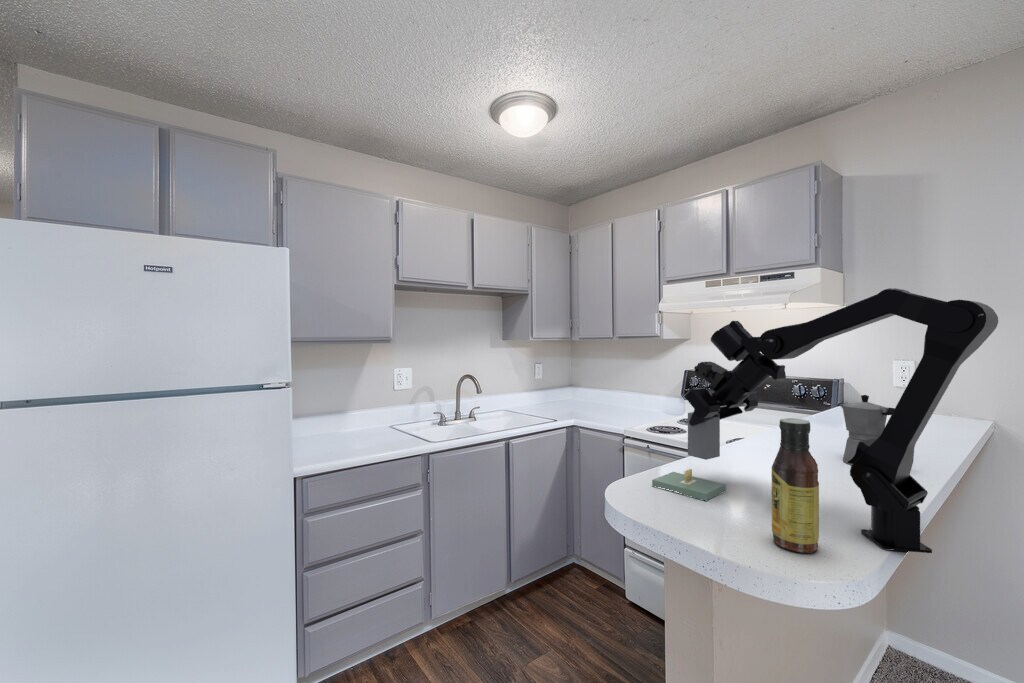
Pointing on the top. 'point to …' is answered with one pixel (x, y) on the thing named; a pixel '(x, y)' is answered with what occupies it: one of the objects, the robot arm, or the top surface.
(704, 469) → the top surface
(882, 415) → the coffeepot
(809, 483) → the sauce bottle
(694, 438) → the plug block
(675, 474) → the header board
